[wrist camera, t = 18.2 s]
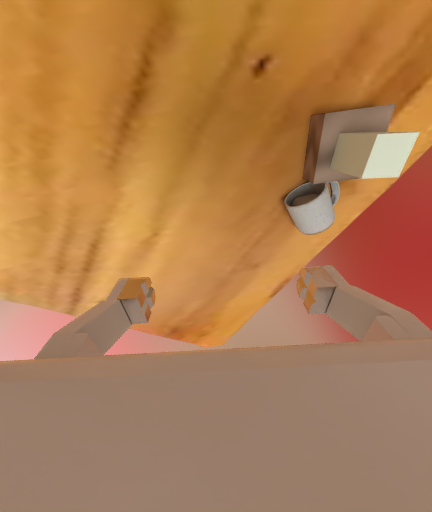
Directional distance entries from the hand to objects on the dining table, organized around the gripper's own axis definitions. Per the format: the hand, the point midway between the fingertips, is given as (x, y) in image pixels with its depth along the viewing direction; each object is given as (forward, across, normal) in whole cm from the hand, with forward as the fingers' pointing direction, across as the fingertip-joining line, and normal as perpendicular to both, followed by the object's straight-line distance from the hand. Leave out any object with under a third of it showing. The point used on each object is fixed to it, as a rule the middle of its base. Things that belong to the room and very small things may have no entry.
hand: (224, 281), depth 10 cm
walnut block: (+32, -22, -3) cm, 38 cm away
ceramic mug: (+31, -19, +6) cm, 37 cm away
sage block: (+26, -22, -3) cm, 35 cm away
